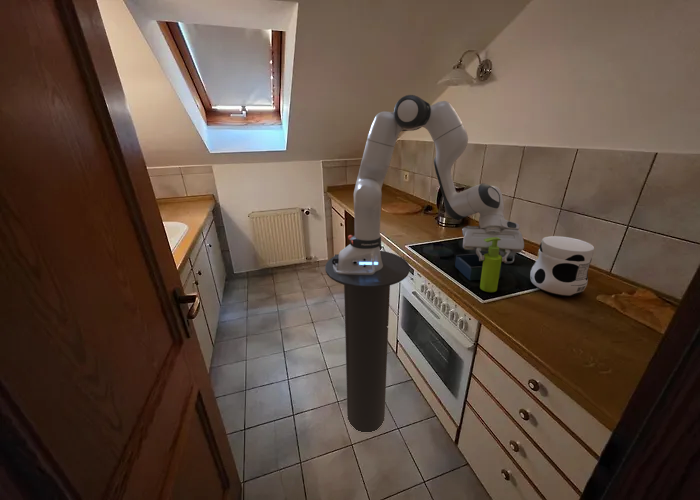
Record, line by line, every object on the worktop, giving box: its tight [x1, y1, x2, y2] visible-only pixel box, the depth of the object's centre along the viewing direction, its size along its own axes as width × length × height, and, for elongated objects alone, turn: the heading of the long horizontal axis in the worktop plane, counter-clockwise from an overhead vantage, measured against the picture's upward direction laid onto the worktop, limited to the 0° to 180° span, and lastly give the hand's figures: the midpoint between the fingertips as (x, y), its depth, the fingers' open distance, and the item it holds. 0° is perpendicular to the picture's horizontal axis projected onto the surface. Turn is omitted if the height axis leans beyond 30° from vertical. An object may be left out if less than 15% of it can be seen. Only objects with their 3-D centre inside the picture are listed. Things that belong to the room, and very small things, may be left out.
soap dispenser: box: [479, 237, 502, 293], centre depth 107 cm, size 6×7×20 cm
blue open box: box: [454, 252, 503, 281], centre depth 123 cm, size 13×13×6 cm
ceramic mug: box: [499, 252, 517, 265], centre depth 134 cm, size 11×8×8 cm
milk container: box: [529, 235, 595, 297], centre depth 107 cm, size 17×17×18 cm
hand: (492, 261), depth 106 cm, fingers closed on soap dispenser, 6 cm apart
